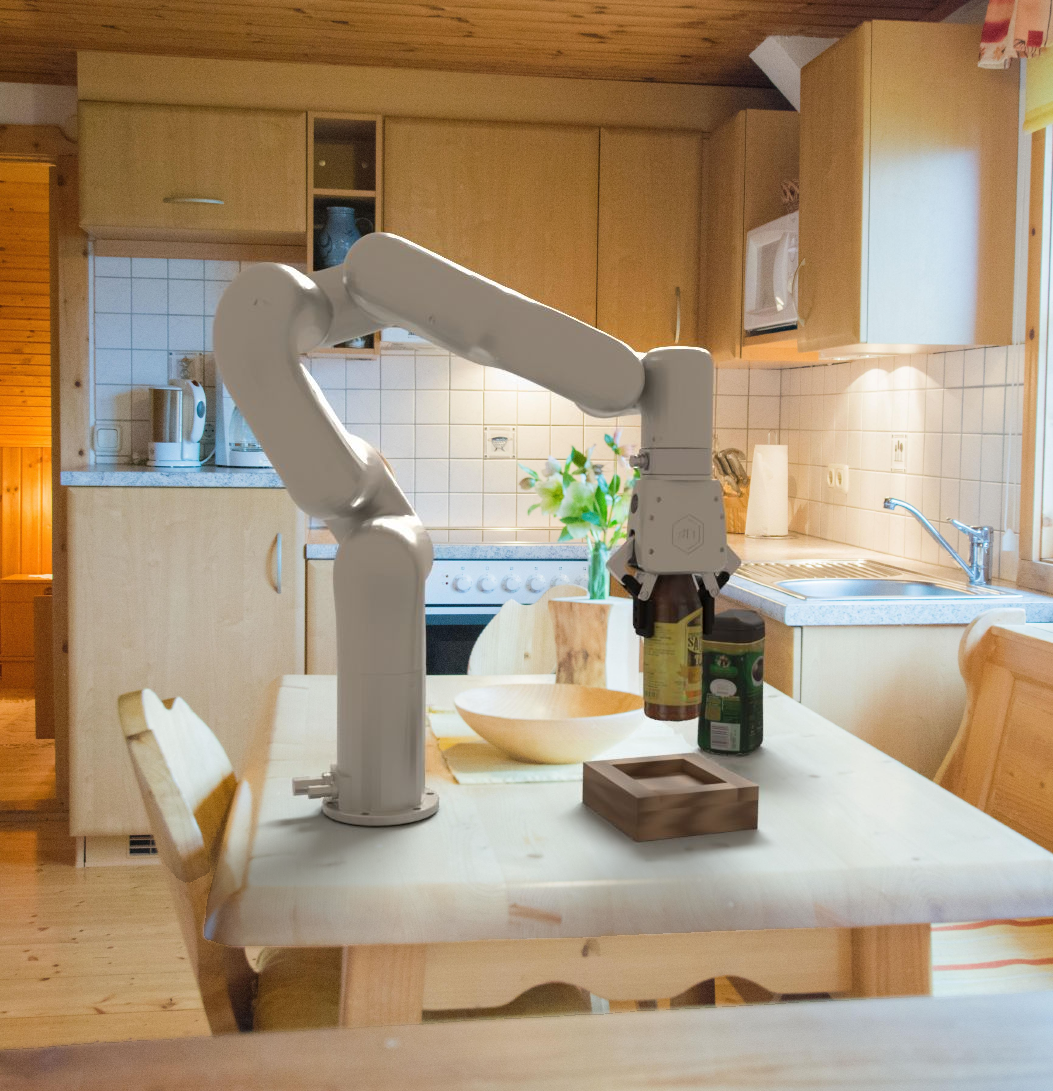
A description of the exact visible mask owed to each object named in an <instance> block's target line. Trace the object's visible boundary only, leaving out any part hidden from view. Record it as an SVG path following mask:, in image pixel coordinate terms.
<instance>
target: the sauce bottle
mask: <svg viewBox="0 0 1053 1091" xmlns="http://www.w3.org/2000/svg"><path fill="white" fill-rule="evenodd" d="M650 600H653V601H654V636H653V637H652V638H645V637H643V655H642V656H643V658H642V659H643V662H642V663H643V665H642V669H643V672H642V676H643V677H642V678H643V681H642V682H643V684H642V689H643V690H642V699H643V700H642V701H644V702H643V704H644V705H643V713H644V715H645V716H646V717H647V718H649V719H651V720H654V721H660V722H677V723H679V722H684V721H685V722H686V721H692V720H696V719H698V716H699V715H700V704H701V700H702V620H703V615H702V611H703V606H702V604H701V601H700V598H699V595H698V590H697V587H696V584H695V582H694V579H693V576H692V574H671V575H658V576H657V579H656V581H655V584H654V586H653V589H652V591H651V594H650Z"/></svg>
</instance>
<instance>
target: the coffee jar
mask: <svg viewBox="0 0 1053 1091" xmlns="http://www.w3.org/2000/svg"><path fill="white" fill-rule="evenodd" d="M765 622H766V621H765V618H764V617H763V616H761V615H760V614H759V613H758V612H757V611H756V610H753V609H752V610H750V609H743V608H728V609H727V610H724V611H722V612H719V613H718V612H717V613H716V614H715V616H714V624H713V625H712V634H711V635H705V634H702V700H701V704H700V715H699V716H698V718H697V719H698V720H697V740H696V741H697V742H696V744H697V746H698V747H699V748H700V749H702V750H703V751H704V750H705V751H707V752H709V753H711V754H714V755H721V756H728V755H747V754H750V753H752V752H754V751H756V750H757V749H758V748H760V746H761V745H762V744H763V741H764V659H765V658H764V657H765V645H766V623H765Z"/></svg>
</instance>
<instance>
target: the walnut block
mask: <svg viewBox="0 0 1053 1091" xmlns="http://www.w3.org/2000/svg"><path fill="white" fill-rule="evenodd" d="M759 793H760V785H758V784H757V783H754V782H752V781H750V779H746V778H745V777H742V776H741V775H739V774H737V773H735V772H733V771H731V770H729V769H727V768H725V767H723V766H722V765H720V764H718V763H716V762H714V761H712V760H710V759H708V758H706V757H704V756H702V755H700V754H699V753H696V752H684V753H682V752H681V753H673V754H672V753H671V754H660V755H649V756H637V757H625V758H614V759H612V758H611V759H601V760H590V761H583V762H582V798H581V800H582V803H584V804H585V805H587V806H588V807H589V808H591V809H592V810H593V811H595V812H596V813H597V814H598V815H600V816H601V817H602V818H604V819H605V820H606V821H608V822H609V823H611V824H612V825H613V826H614V827H616V828H617V829H619V830H620V831H621V832H622V833H624V834H625V835H627V837H629V838H631V839H632V840H634V841H635V842H636V843H637V842H646V841H654V840H665V839H673V838H682V837H690V836H699V835H707V834H716V833H717V834H718V833H724V832H726V833H727V832H733V831H734V832H735V831H744V830H750V829H752V830H754V829H758V827H759V825H758V824H759V796H760V794H759Z"/></svg>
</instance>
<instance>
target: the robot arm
mask: <svg viewBox="0 0 1053 1091" xmlns="http://www.w3.org/2000/svg"><path fill="white" fill-rule="evenodd" d="M212 323H213V325H212V334H211V336H212V337H211V338H212V342H211V343H212V350H213V356H214V360H215V364H216V368H217V371H218V373H219V376H220V379H221V380H222V383H223V385H224V387H225V389H226V391H227V393H228V394H229V396H230V399H231V400H232V402H233V404H234V405H235V407H236V408H237V410H238V411H239V413H240V414H241V416H242V418H243V419H244V421H245V422H246V424H247V426H248V428H249V430H251V433H252V434H253V436H254V438H255V440H256V442H257V443H258V445H259V447H260V448H261V451H263V453H264V455H265V456H266V458H267V459H268V461H269V462H270V464H271V466H272V467H273V469H274V470H275V473H276V474H277V475H278V477H279V479H280V480H281V483H282V484H283V486H284V488H285V490H286V491H287V493H288V495H289V496H290V499H291V500H292V501H293V502H294V504H295V506H297V507H298V508H299V510H301V511H302V512H304V514H306V515H308V516H310V517H312V518H315V519H317V520H323V522H324V524H325V525H326V527H327V529H328V530H329V532H330V533H331V535H332V536H333V537H334V539H335V541H336V542H337V544H338V547H337V549H336V552H335V555H334V559H333V566H332V588H333V590H332V591H333V598H334V601H333V602H334V610H335V626H336V627H335V630H336V632H335V633H336V634H335V635H336V763H334V764H329V766H330V769H329V771H328V772H327V771H326V772H322V773H321V775H320V776H313V777H311V776H300V777H292V782H291V784H292V785H291V789H292V795H293V797H297V796H307V797H308V800H314V799H322V800H321V805H322V812H323V814H324V815H326V816H327V817H329V818H330V819H332V820H334V821H336V822H341V823H345V824H349V825H356V826H373V827H374V826H375V827H378V826H379V827H380V826H381V827H384V826H395V825H396V826H397V825H402V824H410V823H414V822H417V821H421V820H423V819H427V818H428V817H431V816H433V815H434V814H435V813H437V812H438V810H439V808H440V797H439V794H438V793H437V792H436V791H435V790H432V789H431V788H428V787H426V725H427V724H426V723H427V721H426V718H427V717H426V716H427V714H426V713H427V712H426V711H427V706H426V705H427V698H426V696H427V665H426V664H427V631H426V630H427V628H426V627H427V626H426V625H427V624H426V623H427V622H426V582H427V579H428V578H429V576H430V574H431V571H432V569H433V565H434V560H435V559H434V558H435V552H434V546H433V541H432V539H431V537H430V534H429V533H428V530H427V528H426V527H425V525H424V524H423V521H422V520H421V519H420V518H419V516H418V514H417V513H416V512H415V510H414V508H413V507H412V505H411V503H410V502H409V500H408V498H407V497H406V495H405V494H404V492H403V491H402V489H401V487H400V486H399V484H398V483H397V481H396V479H395V478H394V476H393V475H392V473H391V471H390V470H389V468H388V467H387V465H386V463H385V462H384V460H382V458H381V456H380V455H379V453H378V452H377V451H376V449H374V448H373V446H371V445H370V443H368V442H367V441H365V440H364V439H363V438H360V437H359V436H356V435H353V434H351V433H349V431H348V430H347V429H346V428H345V426H344V425H343V423H342V421H340V419H339V418H338V416H337V415H336V413H335V412H334V410H333V408H332V407H331V405H330V403H329V402H328V401H327V398H326V397H325V396H324V393H323V391H322V390H321V387H320V386H319V385H318V384H317V381H316V380H315V379H314V378H313V377H312V375H311V374H310V373H309V371H308V369H307V368H306V366H305V364H304V362H303V361H302V358H301V356H300V354H302V355H303V354H306V353H312V352H317V351H319V350H323V349H326V348H329V347H333V346H337V345H338V344H342V343H345V342H349V341H351V340H355V339H359V338H362V337H365V336H368V335H373V334H374V333H377V332H380V331H382V330H386V329H388V328H391V327H394V326H395V327H398V328H401V329H403V330H404V331H406V332H409V333H410V334H413V335H415V336H417V337H418V338H420V339H424V340H425V341H426V342H430V343H431V344H434V345H435V346H438V347H440V348H442V349H443V350H446V351H448V352H450V353H451V354H454V355H456V356H458V357H459V358H462V359H465V360H466V361H468V362H469V361H470V362H472V363H474V364H477V365H480V366H482V367H483V366H484V367H489V368H494V369H498V370H502V371H505V372H507V373H511V374H513V375H515V376H516V377H517V376H518V377H519V378H522V379H525V380H526V381H529V382H532V383H533V384H536V385H538V386H539V387H542V388H544V389H546V390H549V391H551V392H553V393H555V394H556V395H558V396H560V397H562V398H565V399H566V400H568V401H570V402H572V403H574V404H575V406H576V407H577V408H578V409H579V410H580V411H581V412H582V413H584V414H586V415H588V416H590V417H593V418H596V419H613V418H619V417H620V418H621V417H627V416H635V415H641V416H640V448H639V449H638V453H637V454H631V455H630V457H629V459H628V464H629V466H630V468H633V469H634V468H635V469H637V470H638V474H640V477H639V478H635V479H634V484H633V488H632V491H631V497H630V503H629V508H628V515H627V524H626V525H627V526H626V539H625V540H626V541H624V543H623V544H622V545H621V546H620V547H619V548H618V549H617V550H616V552H614V553H613V555H612V556H611V557H610V558H609V559H608V560H607V561H606V562H605V568H606V569H607V571H608V572H609V573H610V574H611V575H612V576H613V577H614V578H615V579H616V580H617V582H618V583H619V585H620V586H621V587H622V588H623V589H624V590H625V591H626V592H627V593H628V595H629V597H631V598H632V627H633V629H634V632H635V634H636V635H637V636H640V637H642V638H644V637H645V638H652V637H653V636H654V601H653V600H650V594H651V591H652V589H653V586H654V584H655V581H656V579H657V576H658V575H671V574H692V576H693V580H694V583H695V586H696V589H697V592H698V595H699V598H700V601H701V604H702V606H703V611H702V615H703V620H702V634H705V635H711V634H712V625H713V624H714V616H715V612H716V611H715V609H716V606H715V605H716V604H715V603H716V598H718V597H719V596H720V594H721V590H722V589H723V588H724V587H725V586H726V584H727V583H728V582H729V580H730V579H731V576H733V574H735V572H736V571H737V570H738V569H739V568H740V567H741V565H742V559H741V558H740V557H739V556H738V555H737V553H735V552H734V550H733V549H732V548H731V547H730V546H729V545H728V539H727V534H728V533H727V522H726V520H727V518H726V508H725V503H724V498H723V492H722V487H721V486H722V485H721V481H720V479H714V478H713V437H714V432H713V430H714V374H715V373H714V372H715V370H714V369H715V368H714V365H715V364H714V359H713V357H712V354H711V353H710V351H708V350H707V349H704V348H701V347H695V346H694V347H693V346H692V347H691V346H666V347H665V346H663V347H658V348H657V347H656V348H653V349H651V350H649V351H647V352H645V353H644V352H636V351H635V350H633V349H632V347H630V346H629V345H628V344H626V343H624V342H623V341H621V340H619V339H617V338H615V337H613V336H612V335H611V334H610V335H609V334H607V333H606V332H604V331H601V330H599V329H597V328H595V327H592V326H591V325H589V324H587V323H585V322H582V321H580V320H578V319H577V318H575V317H572V316H569V315H568V314H566V313H563V312H562V311H559V310H557V309H554V308H552V307H550V306H548V305H545V304H543V303H540V302H538V301H535V300H534V299H531V298H529V297H527V296H525V295H523V294H521V293H519V292H517V291H515V290H513V289H511V288H508V287H505V286H503V285H501V284H499V283H497V282H495V281H493V280H490V279H488V278H486V277H484V276H482V275H480V274H478V273H475V272H474V271H471V270H469V269H467V268H465V267H463V266H461V265H459V264H457V263H455V262H453V261H451V260H449V259H447V258H444V257H442V256H441V255H439V254H437V253H435V252H432V251H430V250H428V249H426V248H424V247H422V246H420V245H418V244H416V243H414V242H412V241H411V240H408V239H406V238H403V237H401V236H398V235H395V234H393V233H389V232H382V231H376V232H371V233H368V234H365V235H364V236H362V237H360V238H358V239H357V240H356V241H355V242H354V243H353V244H352V245H351V247H350V248H349V249H348V250H347V252H346V255H345V257H344V260H343V262H342V263H340V264H337V265H334V266H331V267H328V268H324V269H320V270H318V271H313V272H310V273H307V274H303V273H302V272H300V271H298V270H297V269H295V268H294V267H292V266H289V265H288V264H287V265H286V264H283V263H279V262H270V261H269V262H267V261H265V262H260V263H259V262H258V263H255V264H252V265H249V266H247V267H246V268H244V269H243V270H241V271H240V272H238V274H237V275H236V276H235V277H234V278H233V279H232V280H231V281H230V283H229V284H228V285H227V287H225V290H224V292H223V293H222V295H221V298H220V300H219V302H218V305H217V308H216V311H215V314H214V318H213V321H212ZM626 565H627V567H629V569H631V570H634V571H635V573H634V575H632V574H631V573H630V572H629V571H628V570H627V568H626Z"/></svg>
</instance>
